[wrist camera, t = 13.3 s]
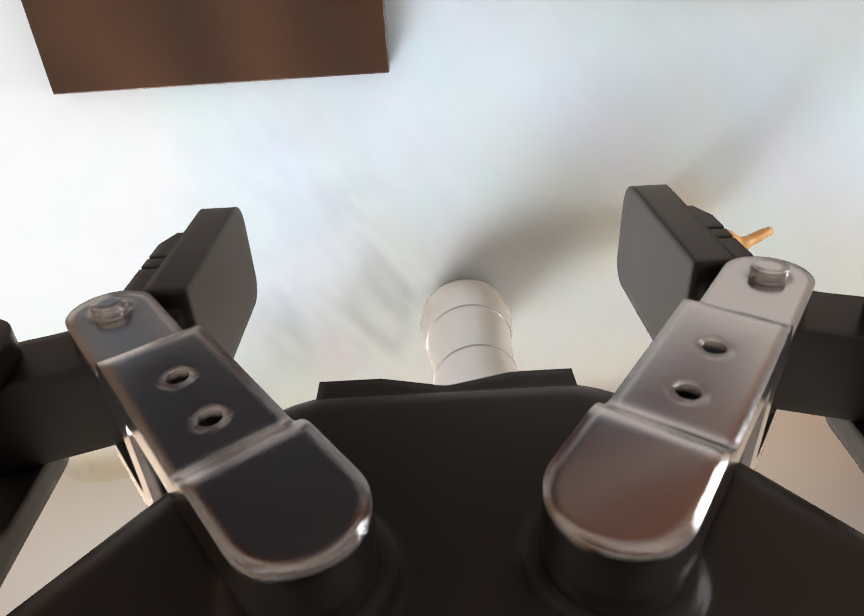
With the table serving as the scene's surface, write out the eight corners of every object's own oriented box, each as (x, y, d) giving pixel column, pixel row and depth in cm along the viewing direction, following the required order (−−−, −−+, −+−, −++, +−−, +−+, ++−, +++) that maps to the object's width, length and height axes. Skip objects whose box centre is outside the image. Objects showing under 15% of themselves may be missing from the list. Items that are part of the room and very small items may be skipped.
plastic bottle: (401, 304, 49) (401, 513, 32) (471, 250, 47) (513, 442, 30) (455, 357, 51) (482, 576, 34) (524, 308, 49) (590, 515, 32)
